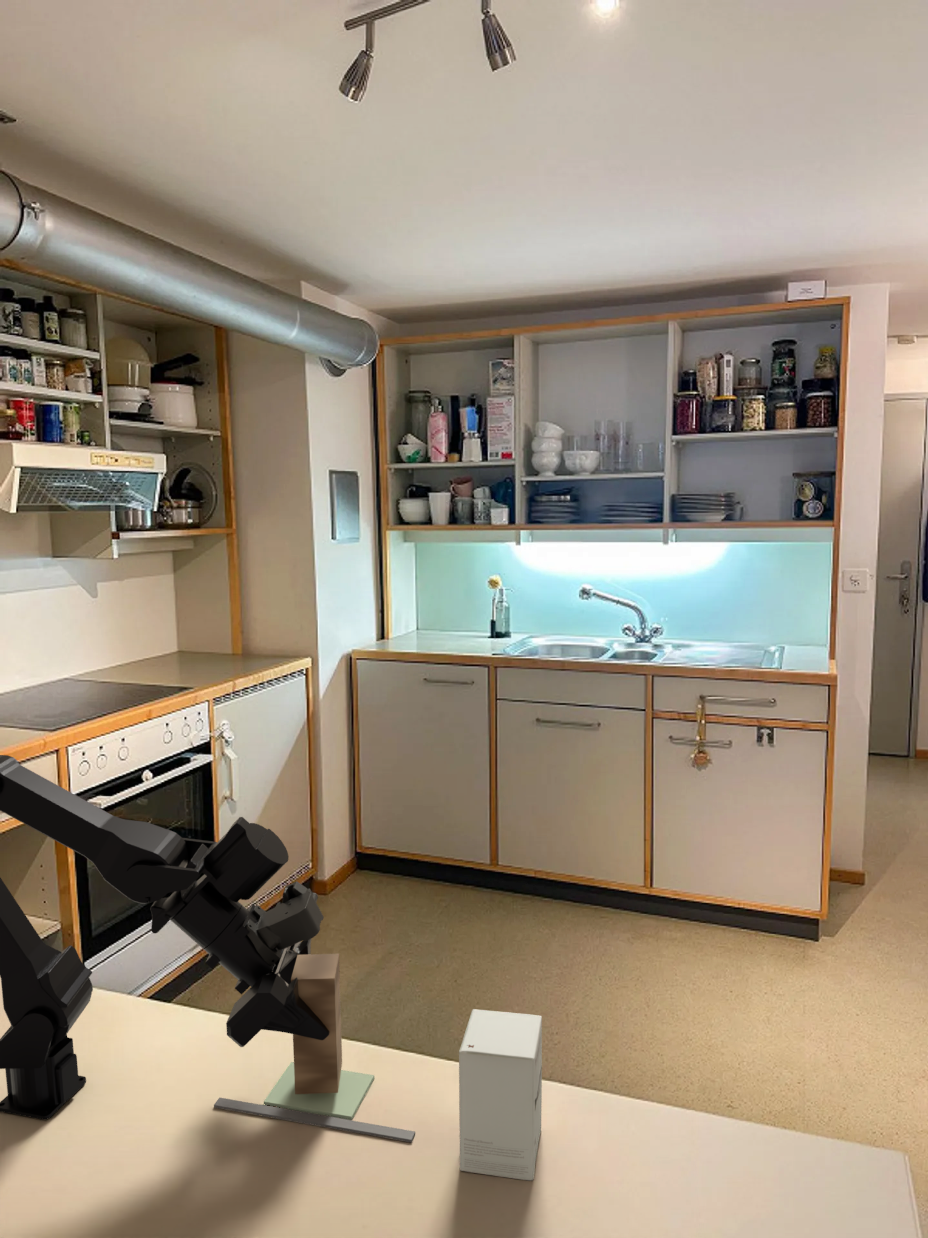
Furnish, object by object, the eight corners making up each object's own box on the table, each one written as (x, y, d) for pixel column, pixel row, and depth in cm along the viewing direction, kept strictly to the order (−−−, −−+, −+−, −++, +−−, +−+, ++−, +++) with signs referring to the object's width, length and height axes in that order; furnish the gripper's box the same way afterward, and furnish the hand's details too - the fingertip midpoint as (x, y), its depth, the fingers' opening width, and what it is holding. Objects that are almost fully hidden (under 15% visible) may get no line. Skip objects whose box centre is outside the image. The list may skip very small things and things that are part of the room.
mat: (263, 1105, 94) (263, 1101, 94) (291, 1065, 101) (291, 1062, 101) (351, 1120, 92) (351, 1116, 92) (374, 1078, 99) (374, 1075, 98)
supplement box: (534, 1183, 83) (534, 1060, 82) (457, 1172, 85) (456, 1050, 83) (543, 1129, 91) (543, 1014, 89) (472, 1119, 92) (471, 1006, 90)
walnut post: (295, 1094, 94) (290, 979, 92) (301, 1064, 99) (297, 954, 97) (337, 1093, 94) (334, 978, 92) (342, 1062, 99) (339, 953, 97)
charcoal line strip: (213, 1107, 94) (213, 1105, 94) (219, 1100, 95) (219, 1097, 95) (411, 1142, 89) (411, 1140, 89) (415, 1134, 90) (415, 1131, 90)
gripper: (254, 916, 84) (374, 1023, 85) (290, 840, 102) (388, 929, 104) (175, 995, 85) (295, 1099, 86) (225, 905, 103) (323, 992, 105)
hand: (330, 1021), depth 95 cm, fingers closed on walnut post, 5 cm apart
